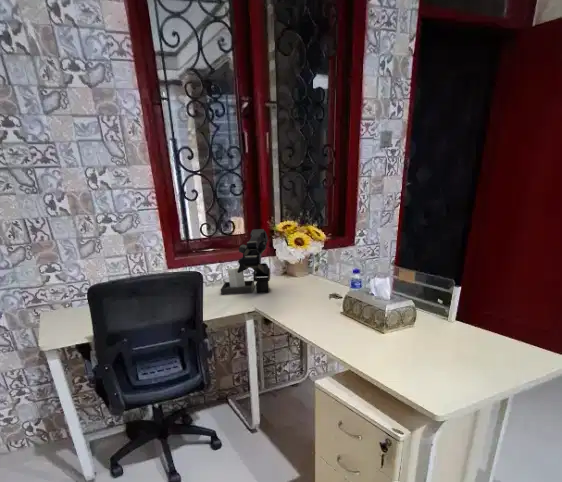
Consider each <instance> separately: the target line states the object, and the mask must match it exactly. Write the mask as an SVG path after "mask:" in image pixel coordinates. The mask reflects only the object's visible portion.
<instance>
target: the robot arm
mask: <svg viewBox="0 0 562 482" xmlns="http://www.w3.org/2000/svg"><path fill="white" fill-rule="evenodd" d="M249 236H250V238H249V240H248V241H247V242H246V244H241V245H240V246H239V247H238V252H239V253H240V254H242V257H241V258H238V261H237V263H238V264H239V266H238V267H237V268H238V271H237V272H238V273H240V272H242V271H243V272H244V271H246V270H248V269H252V270H253V272H252V273H253V276H252V277H253V278H252V279H253V280H254V283H255V289H256V293H257V294H263V293H265V294H266V293H269V292H270V284H269V282H270V281H271V267H269V265H268V264H267V263H263V262H262V254H263V253H264V252H265V251H266V249H267V246H268V242H269V238H268V235H267V231H266V230H265V229H264V228H257V229H256V228H255V229H252V230H251V231H250V234H249Z"/></svg>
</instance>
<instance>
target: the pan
mask: <svg viewBox="0 0 562 482" xmlns="http://www.w3.org/2000/svg"><path fill="white" fill-rule="evenodd" d="M244 281H245V286H243V287H238V288H230V283H229V281H225V282H224V283H223V285H222V286H221V288H220V293H221V295H237V294H252V293H253V291H254V289H255V287H256V284H255V282H254V279H253V280H244Z"/></svg>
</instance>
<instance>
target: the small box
mask: <svg viewBox="0 0 562 482" xmlns="http://www.w3.org/2000/svg"><path fill="white" fill-rule="evenodd" d="M238 268H239V267H233V268H227V274H228V282H229V283H230V288H238V287H243V286H245V281H246V280H245V274H244V271H242V272H240V273H238V272H237V271H238Z"/></svg>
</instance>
